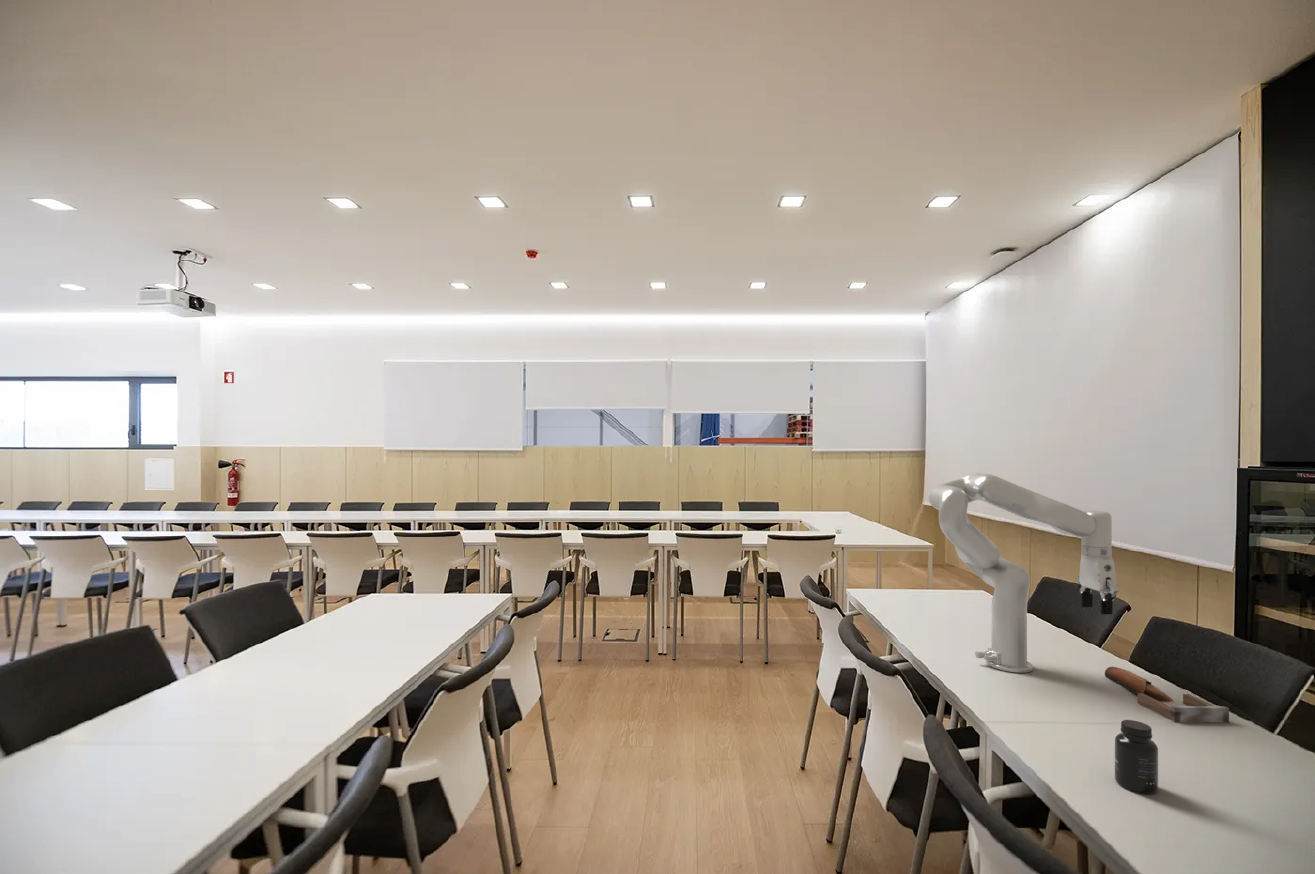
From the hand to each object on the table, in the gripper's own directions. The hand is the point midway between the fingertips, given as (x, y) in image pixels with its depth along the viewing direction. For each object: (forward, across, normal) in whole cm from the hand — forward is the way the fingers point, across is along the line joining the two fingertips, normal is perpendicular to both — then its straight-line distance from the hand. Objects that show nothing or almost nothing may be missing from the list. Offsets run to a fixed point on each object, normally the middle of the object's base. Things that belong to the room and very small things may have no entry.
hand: (1096, 610), depth 191 cm
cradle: (+18, -30, 0) cm, 35 cm away
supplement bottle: (+18, -66, +39) cm, 79 cm away
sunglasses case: (+19, -15, -1) cm, 24 cm away
